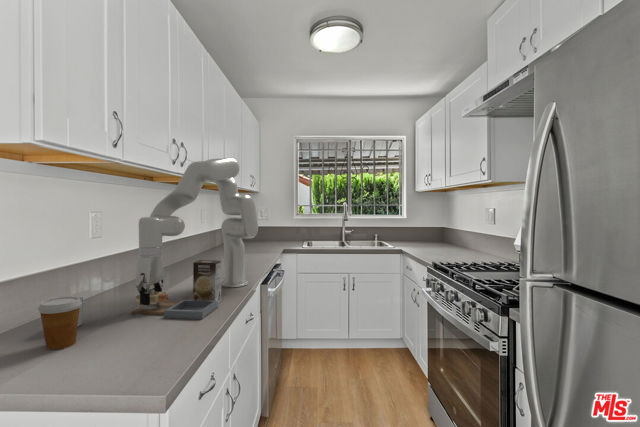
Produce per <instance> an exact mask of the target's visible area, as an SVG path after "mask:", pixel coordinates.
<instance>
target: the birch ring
mask: <svg viewBox="0 0 640 427" xmlns="http://www.w3.org/2000/svg"><path fill="white" fill-rule="evenodd" d="M160 301H169V295H168V293H167V291H162V292H157V291H154V295H150V304H156V303H158V302H160ZM135 303H136V304H140V294H138V295H135Z"/></svg>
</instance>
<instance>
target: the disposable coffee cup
mask: <svg viewBox="0 0 640 427" xmlns="http://www.w3.org/2000/svg"><path fill="white" fill-rule="evenodd" d="M79 297H80V296H79ZM79 297H78V296H61V297H53V298H49V299H46V300H43V301H41V302H40V303H39V307H37V311H38V312H39V314H40V318H41V324H42V331H43V335H44V336H43V337H44V341H45V342H44V343H45V347H46V349H47V350H51V351H52V350H55V351H56V350H61V349H66V348H68V347H71V346H73V345H75V344H76V341H77V331H78V327H79V326H78V318H79V310H80V306H81V304H82V302H81V301H80V298H79ZM77 326H78V327H77Z"/></svg>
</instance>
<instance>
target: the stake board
mask: <svg viewBox="0 0 640 427" xmlns="http://www.w3.org/2000/svg"><path fill="white" fill-rule="evenodd" d="M148 293H150V295H154V289H153V288H149V292H148ZM181 301H182V300H166V301H160V302H158V303H156V304H149V305H140V307H138V308H135V309H133V310H132V311H131V315H145V316H146V315H148V316H150V315H151V316H165V314H164V310H166V309H168V308H170V307H172V306H173V305H175V304H177V303H179V302H181Z"/></svg>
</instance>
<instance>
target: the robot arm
mask: <svg viewBox="0 0 640 427" xmlns="http://www.w3.org/2000/svg"><path fill="white" fill-rule="evenodd" d="M239 173H240V164H239V162H238V161H237V160H236V159H235V158H232V157H224V158H211V159H207V160H202V161H200V160H198V161H193V162H191V163H189V165H188V166H187V168H186V170H185V171H184V172H183V174H182V177H181V178H180V179H179V181H178V183H177V185H176V187H175V188H174V190H173V191H171V192H170V193H168V194H167V196H165V197H164V198H163V199H161V200H160V201H159V202H158V203H157V204H156V206H155V207H154V209H153V210H152V212H151V214H150V215H149V216H146V217H145V216H144V217H141V218H139V220H138V257H137V258H138V259H137V263H136V270H135V271H136V272H135V273H136V275H135V277H136V278H135V287H136V289H137V291H138V295H140V303H139V304H140V306H143V305H149V304H150V293H148V292H149V289H151V286H152V285H153V287H152V289H154V291H157V292H163V291H162V290H163V287H164V286H163V284H164V280H165V277H166V275H165V273H164V260H163V259H164V258H163V237H177V236H180V235H181V234H182V233H183V232H184V231H185V226H186V224H185V221H184V220H183V219H182V218H181V217H179V216H176V215H172V214H173V213H175V212H176V211H177V210H179V209H181V208H183V207H186V206H188V205H190V204H191V203H194V202H195V201H196V199H197V197H198V196H199V194H200V191H201V190H202V188H203V186H204V184H205V183H211V182H212V183H213V182H214V183H215V184H216V187H217V189H218V194H219V201H220V208H221V210H222V213H224V214H225V215H227V216H230V217H228V218H226V219H224V220H223V221H222V223H221V228H220V229H221V233H222V240H223V281H222V280H221V287H223V288H239V287H240V288H241V287H245V286H248V285H249V281H248V280H246V273H245V272H246V271H245V270H246V268H245V264H246V262H245V261H246V258H245V257H246V256H245V255H246V254H245V253H246V250H245V244H244V242H243V239H253V238H255V237H256V236H257V234H258V231H259V222H258V215H257V208H256V202H255V200H254V198H252V196H250V195H249V194H240V193H239V188H238V184H237V181H236V179H235V177H237V176H238V175H239ZM231 216H232V217H231ZM233 216H235V217H233ZM238 216H240V217H238Z"/></svg>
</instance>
